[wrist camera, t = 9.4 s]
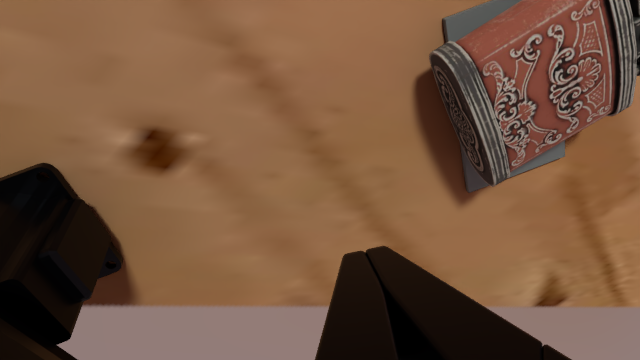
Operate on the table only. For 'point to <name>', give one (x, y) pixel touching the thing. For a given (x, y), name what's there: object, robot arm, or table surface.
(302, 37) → the table surface
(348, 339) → the robot arm
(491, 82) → the lighter
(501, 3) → the pad
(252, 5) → the table surface
